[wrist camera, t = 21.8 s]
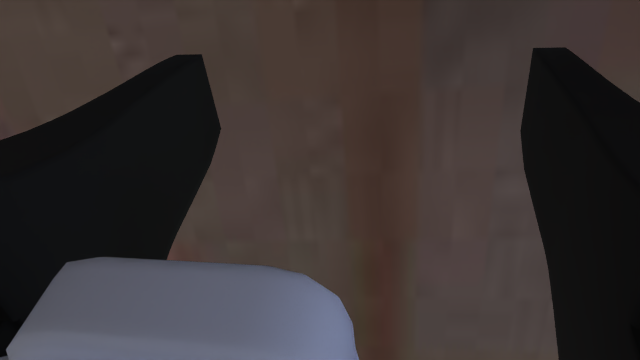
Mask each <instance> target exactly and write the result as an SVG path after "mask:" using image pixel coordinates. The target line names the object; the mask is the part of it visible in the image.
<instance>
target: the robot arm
mask: <svg viewBox="0 0 640 360" xmlns="http://www.w3.org/2000/svg"><path fill="white" fill-rule="evenodd" d="M220 130H221V127H220V123H219V119H218V115H217V111H216V108H215V104H214V100H213V96H212V92H211V88H210V85H209V81H208V77H207V73H206V69H205V65H204V62H203V58H202V54H199V55H175V56H173V57H170V58H168V59H166V60H164V61H162V62H160V63H158V64H156V65H154V66H152V67H150V68H149V69H147V70H145V71H143V72H142V73H140V74H138V75H136V76H135V77H133V78H131V79H130V80H128V81H126V82H124V83H123V84H121V85H119V86H117V87H116V88H114V89H112V90H110V91H109V92H107V93H105V94H103V95H101V96H99V97H97V98H96V99H94V100H92V101H90V102H88V103H86V104H84V105H82V106H81V107H79V108H77V109H75V110H73V111H71V112H69V113H67V114H65V115H63V116H60V117H58V118H56V119H54V120H52V121H49V122H47V123H45V124H42V125H40V126H38V127H35V128H33V129H31V130H28V131H25V132H23V133H20V134H17V135H14V136H12V137H9V138H6V139H3V140H0V360H359V358H358V355H357V352H356V349H355V340H354V331H353V323H352V321H351V319H350V317H349V315H348V313H347V311H346V310H345V308H344V306H343V304H342V302H341V300H340V298H339V297H338V296H337V295H335V294H334V293H333V292H331V291H330V290H328V289H326V288H325V287H323V286H322V285H320V284H319V283H317V282H316V281H314V280H313V279H311V278H310V277H308V276H307V275H305V274H301V273H297V272H293V271H288V270H284V269H280V268H275V267H271V266H264V265H246V264H228V263H210V262H192V261H173V260H167V257H168V254H169V251H170V248H171V246H172V244H173V241H174V239H175V237H176V234H177V232H178V230H179V228H180V226H181V224H182V222H183V220H184V218H185V216H186V214H187V212H188V210H189V208H190V206H191V204H192V202H193V199H194V197H195V195H196V193H197V191H198V189H199V187H200V185H201V183H202V181H203V179H204V177H205V175H206V172H207V170H208V168H209V166H210V164H211V161H212V158H213V155H214V152H215V148H216V145H217V141H218V138H219V134H220ZM521 141H522V152H523V162H524V170H525V174H526V178H527V182H528V186H529V190H530V194H531V198H532V202H533V206H534V210H535V214H536V218H537V222H538V226H539V230H540V234H541V238H542V241H543V245H544V249H545V254H546V259H547V264H548V270H549V278H550V285H551V293H552V301H553V309H554V319H555V328H556V337H557V346H558V356H559V360H640V103H639V102H638V101H636V100H635V99H633V98H632V97H630V96H629V95H628V94H626V93H625V92H623V91H622V90H621V89H619V88H618V87H616V86H615V85H614V84H612V83H611V82H610V81H608V80H607V79H606V78H604V77H603V76H602V75H601V74H599V73H598V72H597V71H595V70H594V69H593V68H592V67H590V66H589V65H588V64H587V63H585V62H584V61H583V60H582V59H580V58H579V57H578V56H576V55H575V54H574V53H573V52H571V51H570V50H568V49H567V48H533V53H532V59H531V66H530V73H529V79H528V86H527V92H526V99H525V105H524V112H523V119H522V125H521Z"/></svg>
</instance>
